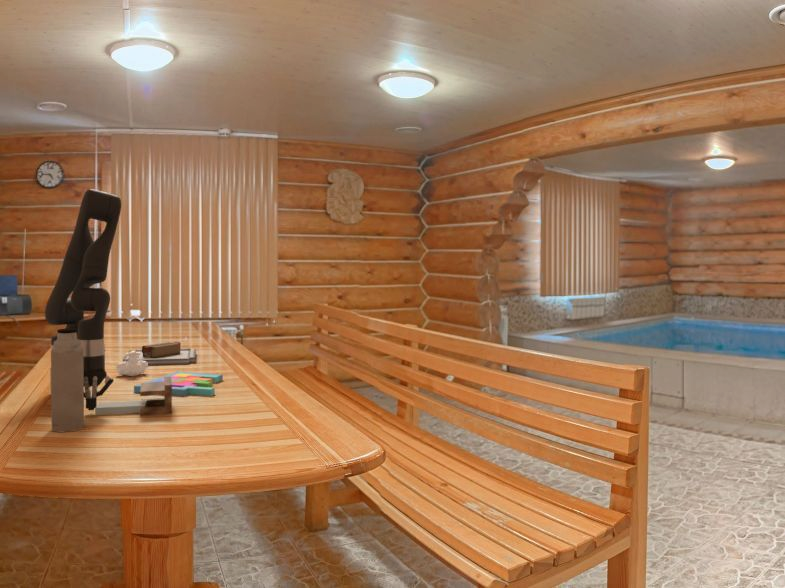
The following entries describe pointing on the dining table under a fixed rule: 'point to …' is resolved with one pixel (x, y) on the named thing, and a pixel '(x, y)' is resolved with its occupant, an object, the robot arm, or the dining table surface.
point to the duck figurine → (132, 365)
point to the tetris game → (189, 383)
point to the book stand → (165, 354)
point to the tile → (119, 407)
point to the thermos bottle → (67, 382)
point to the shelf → (157, 389)
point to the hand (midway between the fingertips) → (91, 409)
